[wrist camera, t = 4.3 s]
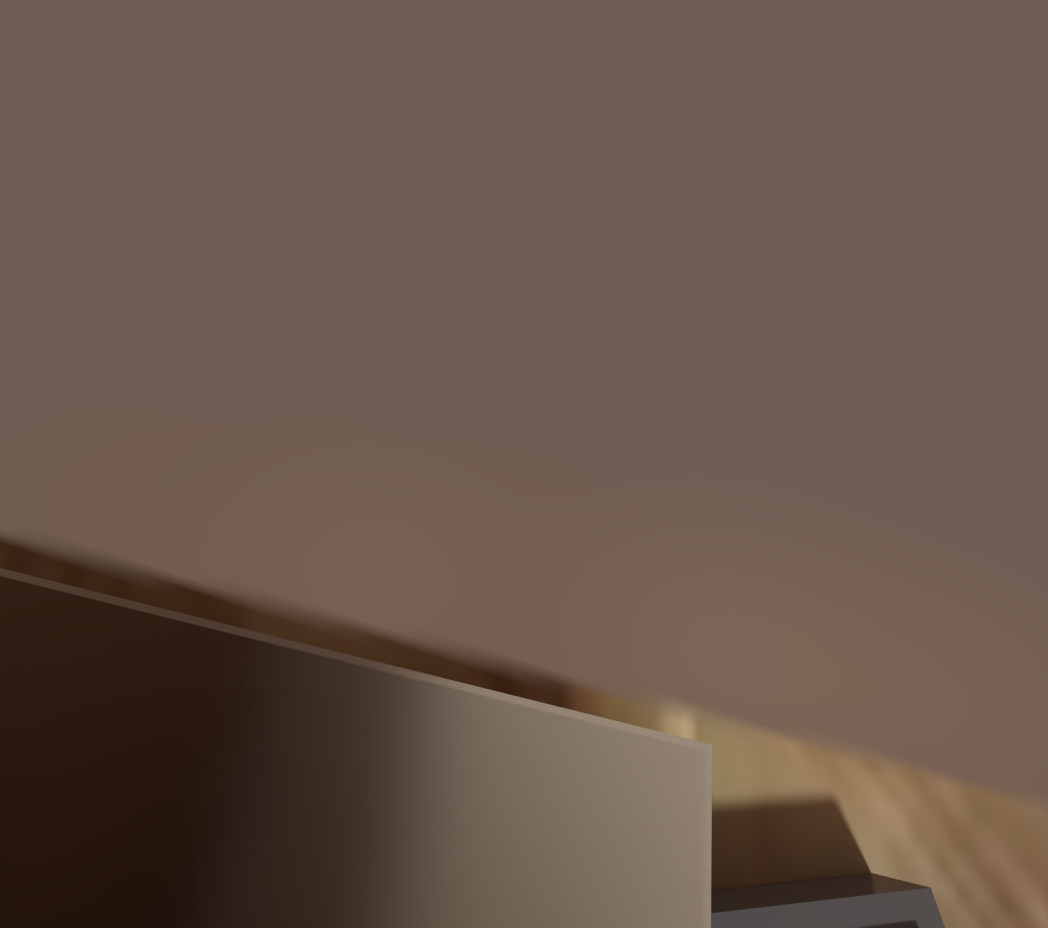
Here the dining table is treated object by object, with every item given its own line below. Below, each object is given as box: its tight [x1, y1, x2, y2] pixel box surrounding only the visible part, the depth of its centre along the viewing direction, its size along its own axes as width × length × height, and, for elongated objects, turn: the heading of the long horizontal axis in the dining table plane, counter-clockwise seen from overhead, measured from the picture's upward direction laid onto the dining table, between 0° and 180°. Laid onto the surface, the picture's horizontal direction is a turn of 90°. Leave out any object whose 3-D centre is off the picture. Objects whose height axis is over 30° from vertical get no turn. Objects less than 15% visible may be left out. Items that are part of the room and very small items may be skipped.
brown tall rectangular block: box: [0, 568, 712, 928], centre depth 8 cm, size 5×5×13 cm
